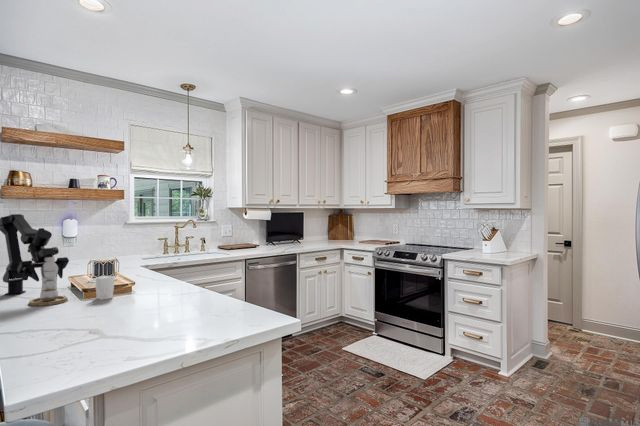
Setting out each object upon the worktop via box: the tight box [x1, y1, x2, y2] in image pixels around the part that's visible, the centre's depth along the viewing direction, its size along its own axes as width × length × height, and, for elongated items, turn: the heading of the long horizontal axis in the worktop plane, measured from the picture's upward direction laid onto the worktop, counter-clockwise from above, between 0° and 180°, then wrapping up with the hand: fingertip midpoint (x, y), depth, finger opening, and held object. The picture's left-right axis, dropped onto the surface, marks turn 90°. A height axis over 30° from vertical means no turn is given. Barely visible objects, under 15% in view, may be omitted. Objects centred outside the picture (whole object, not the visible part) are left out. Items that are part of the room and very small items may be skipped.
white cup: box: [94, 275, 115, 301], centre depth 175 cm, size 8×8×10 cm
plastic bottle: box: [39, 256, 59, 301], centre depth 166 cm, size 6×7×20 cm
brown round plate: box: [27, 295, 69, 307], centre depth 166 cm, size 14×14×1 cm
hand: (50, 279), depth 165 cm, fingers open, 9 cm apart
